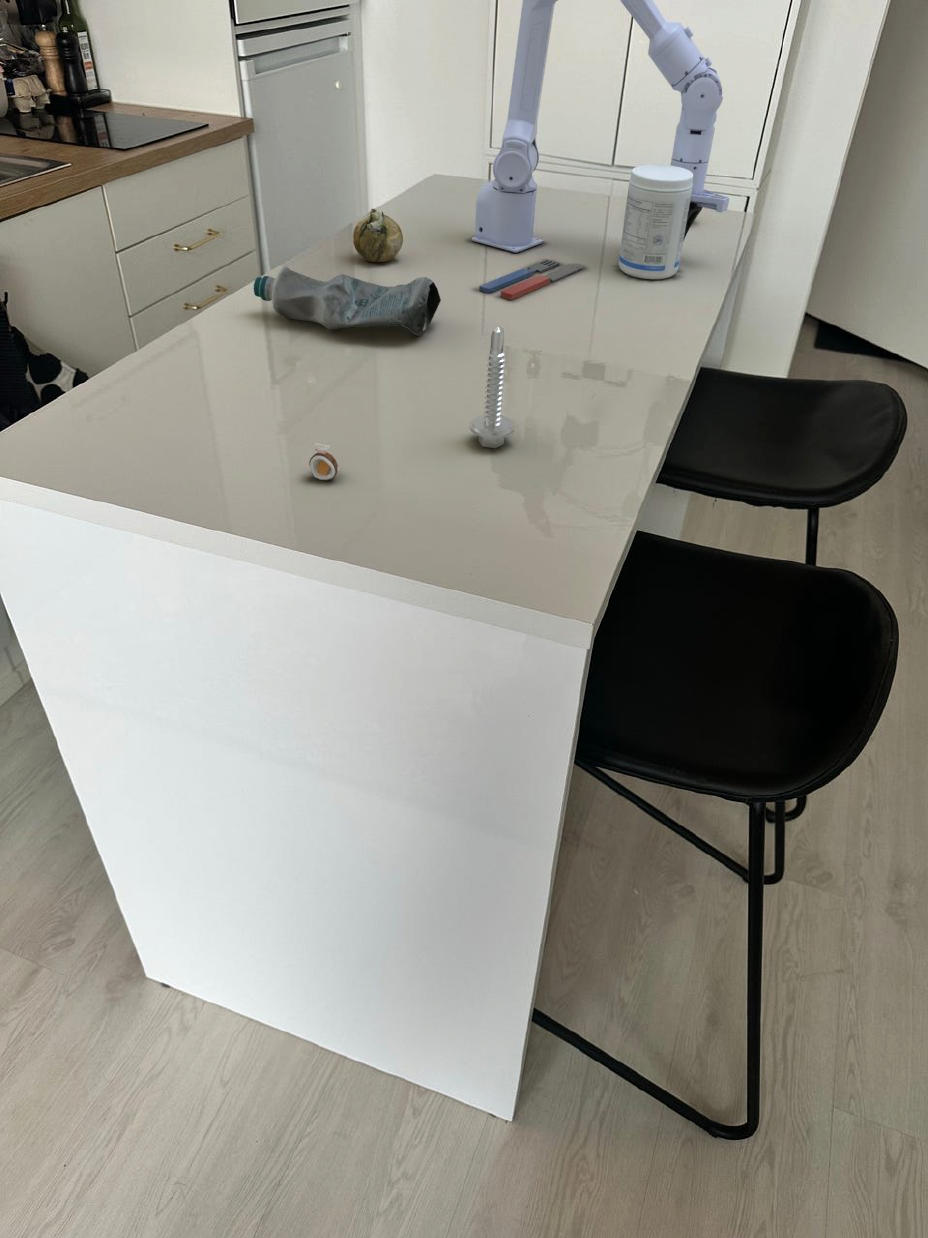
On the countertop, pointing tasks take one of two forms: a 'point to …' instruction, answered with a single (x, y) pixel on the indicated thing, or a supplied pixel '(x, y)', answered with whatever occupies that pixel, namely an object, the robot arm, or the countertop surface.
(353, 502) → the countertop surface
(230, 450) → the countertop surface
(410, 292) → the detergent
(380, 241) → the onion
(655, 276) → the supplement tub
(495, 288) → the fork
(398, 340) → the countertop surface
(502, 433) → the screw
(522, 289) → the knife
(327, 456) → the chocolate
